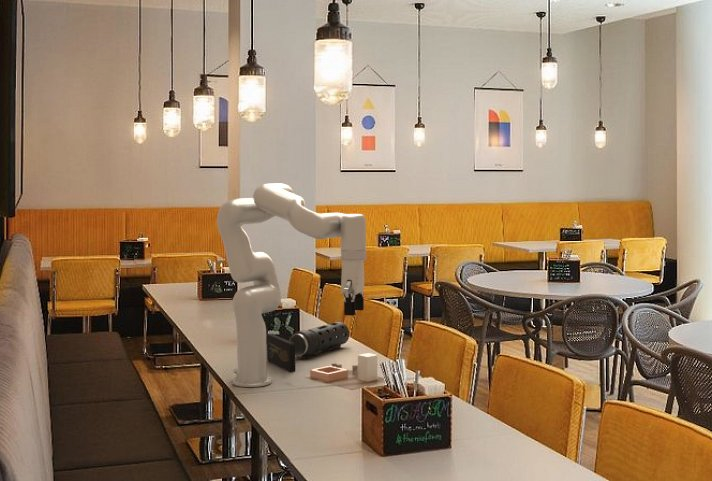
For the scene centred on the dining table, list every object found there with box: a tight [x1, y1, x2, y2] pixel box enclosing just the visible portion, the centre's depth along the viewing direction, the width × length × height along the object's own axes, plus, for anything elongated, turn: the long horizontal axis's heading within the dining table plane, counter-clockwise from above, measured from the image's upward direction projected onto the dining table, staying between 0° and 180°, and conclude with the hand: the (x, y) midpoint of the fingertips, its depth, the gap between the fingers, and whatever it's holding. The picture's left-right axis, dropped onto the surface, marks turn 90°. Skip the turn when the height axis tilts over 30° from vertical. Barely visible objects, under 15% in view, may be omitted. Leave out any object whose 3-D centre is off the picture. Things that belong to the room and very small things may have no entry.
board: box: [304, 362, 386, 391], centre depth 290 cm, size 23×18×4 cm
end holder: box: [309, 365, 349, 382], centre depth 292 cm, size 9×9×2 cm
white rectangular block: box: [357, 352, 378, 382], centre depth 288 cm, size 4×4×8 cm
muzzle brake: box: [288, 321, 350, 358], centre depth 335 cm, size 10×28×10 cm, turn 148°
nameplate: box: [266, 333, 296, 373], centre depth 313 cm, size 21×2×10 cm, turn 28°
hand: (354, 312), depth 266 cm, fingers open, 9 cm apart
